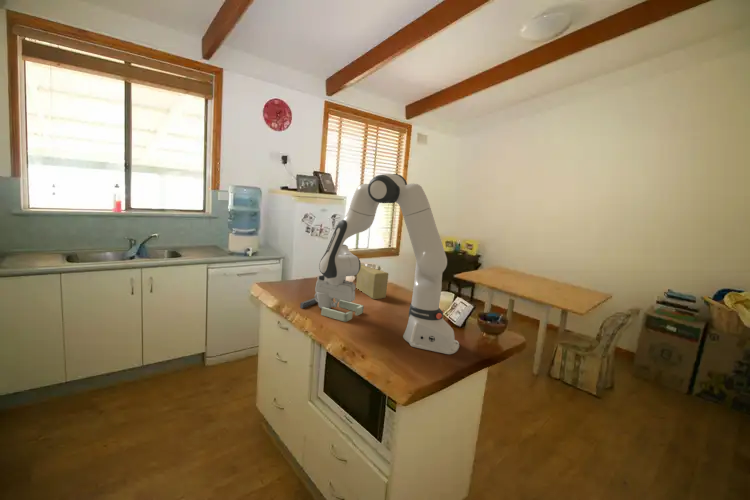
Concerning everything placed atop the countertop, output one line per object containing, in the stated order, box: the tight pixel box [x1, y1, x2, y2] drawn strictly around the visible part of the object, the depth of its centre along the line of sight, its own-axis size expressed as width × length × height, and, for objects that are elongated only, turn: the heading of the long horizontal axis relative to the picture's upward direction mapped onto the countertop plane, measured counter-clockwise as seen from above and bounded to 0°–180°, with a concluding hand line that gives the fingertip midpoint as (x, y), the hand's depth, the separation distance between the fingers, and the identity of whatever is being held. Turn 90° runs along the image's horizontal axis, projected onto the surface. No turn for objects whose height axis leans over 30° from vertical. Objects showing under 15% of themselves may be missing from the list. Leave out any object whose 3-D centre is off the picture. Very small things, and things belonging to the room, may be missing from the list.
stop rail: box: [300, 297, 318, 310], centre depth 169 cm, size 2×14×2 cm, turn 154°
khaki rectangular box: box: [355, 264, 389, 300], centre depth 199 cm, size 22×10×15 cm, turn 39°
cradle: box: [320, 300, 365, 323], centre depth 162 cm, size 13×16×4 cm
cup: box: [314, 292, 332, 309], centre depth 167 cm, size 11×8×8 cm
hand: (333, 306), depth 164 cm, fingers closed
